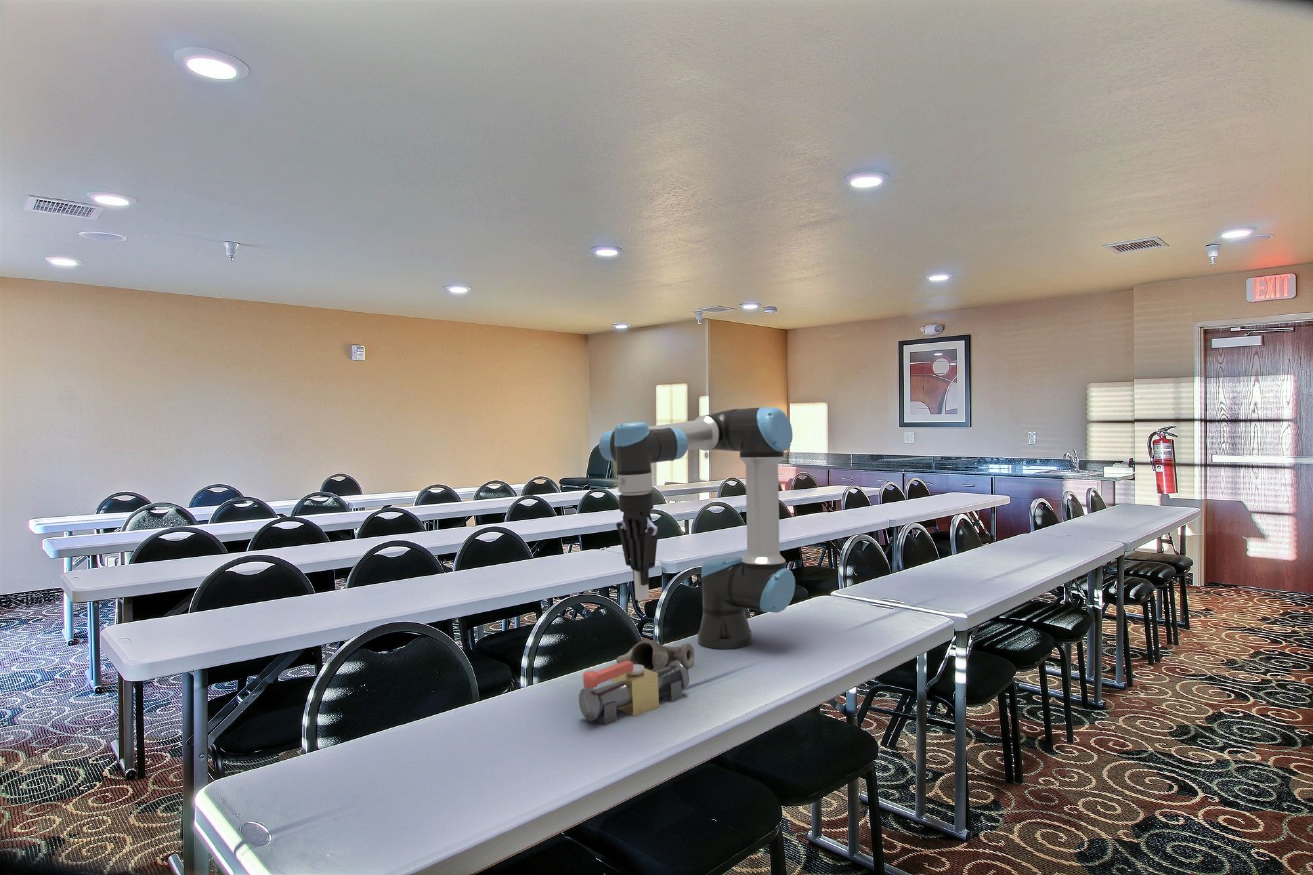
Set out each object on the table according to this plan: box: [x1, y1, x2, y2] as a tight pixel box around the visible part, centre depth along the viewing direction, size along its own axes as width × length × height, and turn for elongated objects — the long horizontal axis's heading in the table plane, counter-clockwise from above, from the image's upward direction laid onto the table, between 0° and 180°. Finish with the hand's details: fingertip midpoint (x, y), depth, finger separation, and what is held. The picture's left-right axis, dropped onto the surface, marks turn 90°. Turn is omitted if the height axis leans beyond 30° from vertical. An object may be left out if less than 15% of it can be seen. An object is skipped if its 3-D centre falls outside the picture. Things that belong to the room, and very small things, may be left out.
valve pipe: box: [578, 660, 690, 726], centre depth 163 cm, size 25×7×8 cm, turn 129°
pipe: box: [616, 639, 695, 671], centre depth 187 cm, size 16×9×15 cm
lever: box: [582, 661, 644, 689], centre depth 158 cm, size 16×4×3 cm, turn 137°
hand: (642, 598), depth 165 cm, fingers closed
